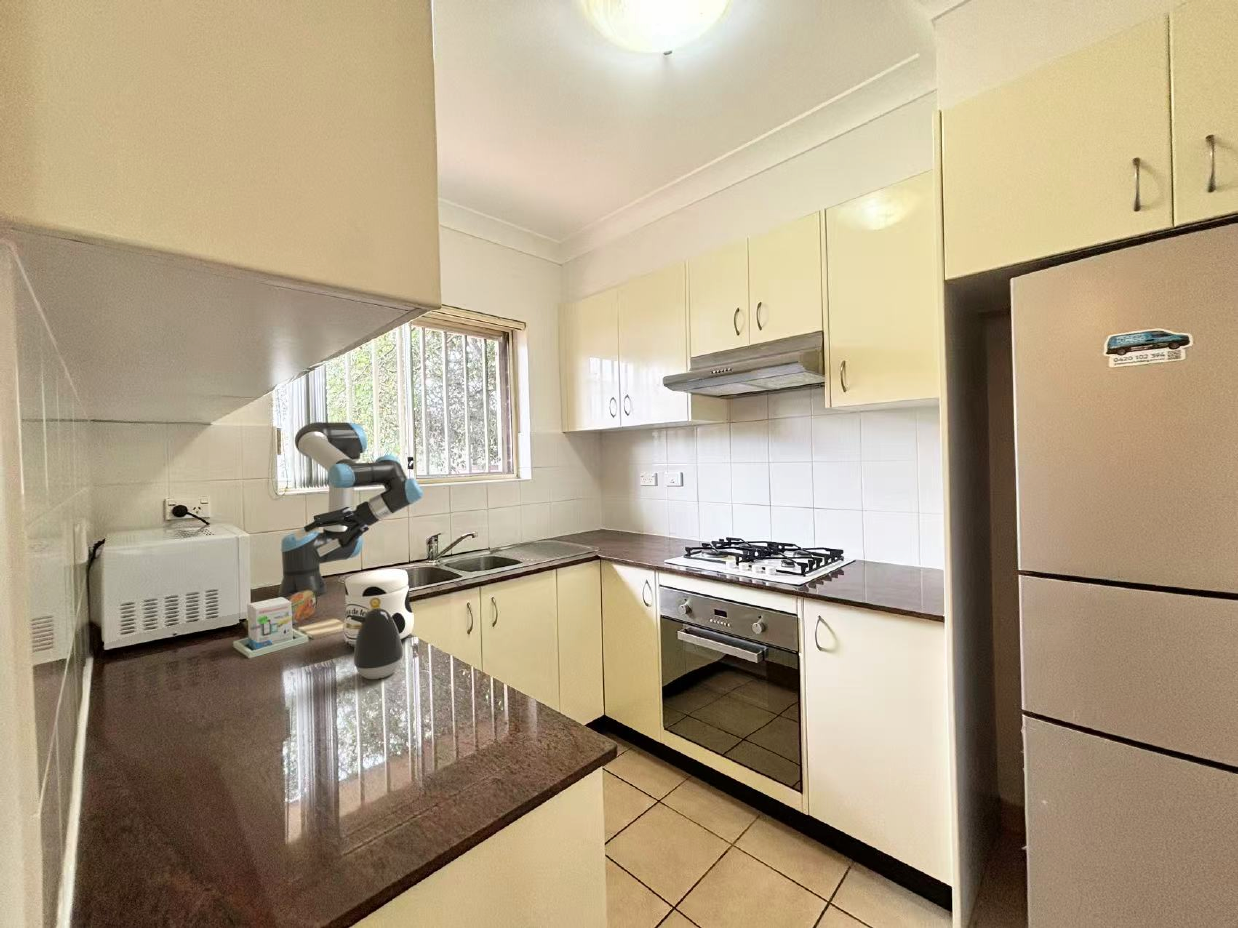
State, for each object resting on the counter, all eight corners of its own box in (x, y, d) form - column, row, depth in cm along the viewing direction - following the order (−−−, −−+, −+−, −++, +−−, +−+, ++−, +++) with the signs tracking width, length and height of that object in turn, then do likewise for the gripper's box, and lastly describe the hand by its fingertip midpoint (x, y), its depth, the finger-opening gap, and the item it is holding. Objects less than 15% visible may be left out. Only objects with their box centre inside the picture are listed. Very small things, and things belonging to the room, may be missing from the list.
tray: (233, 646, 139) (233, 641, 139) (290, 632, 149) (290, 626, 149) (249, 658, 130) (249, 652, 130) (308, 641, 141) (308, 636, 140)
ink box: (256, 653, 134) (254, 608, 133) (248, 645, 139) (246, 603, 139) (293, 643, 140) (291, 601, 140) (284, 636, 146) (282, 595, 145)
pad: (297, 630, 150) (297, 627, 150) (334, 621, 158) (333, 618, 158) (314, 639, 142) (313, 635, 142) (351, 628, 150) (351, 625, 150)
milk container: (335, 658, 128) (331, 586, 128) (353, 634, 145) (350, 571, 145) (409, 649, 132) (405, 580, 132) (418, 627, 149) (415, 566, 149)
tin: (288, 627, 153) (286, 599, 153) (278, 628, 154) (276, 600, 153) (318, 611, 168) (317, 586, 168) (309, 612, 169) (308, 586, 168)
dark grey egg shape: (357, 669, 120) (354, 605, 120) (405, 662, 124) (402, 600, 123) (349, 688, 111) (346, 618, 110) (401, 679, 114) (398, 612, 114)
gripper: (360, 502, 151) (288, 539, 146) (393, 534, 173) (331, 568, 167) (352, 483, 155) (280, 519, 149) (385, 517, 176) (323, 549, 170)
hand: (307, 545), depth 158 cm, fingers open, 13 cm apart
